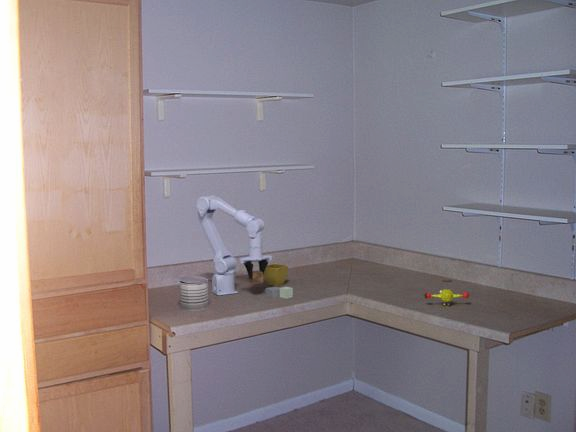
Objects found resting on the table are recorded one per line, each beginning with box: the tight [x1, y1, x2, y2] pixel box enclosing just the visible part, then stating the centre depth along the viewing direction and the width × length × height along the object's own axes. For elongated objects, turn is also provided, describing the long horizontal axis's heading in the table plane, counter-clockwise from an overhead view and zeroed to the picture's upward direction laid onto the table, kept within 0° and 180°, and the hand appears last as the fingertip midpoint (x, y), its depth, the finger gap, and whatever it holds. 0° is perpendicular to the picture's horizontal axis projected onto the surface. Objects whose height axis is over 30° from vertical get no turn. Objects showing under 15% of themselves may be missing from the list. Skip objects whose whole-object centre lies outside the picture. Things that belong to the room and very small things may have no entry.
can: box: [179, 275, 209, 312], centre depth 255 cm, size 11×11×12 cm
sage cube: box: [279, 286, 294, 299], centre depth 272 cm, size 4×4×4 cm
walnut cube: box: [248, 270, 264, 285], centre depth 273 cm, size 4×4×4 cm
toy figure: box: [424, 288, 470, 307], centre depth 255 cm, size 18×6×7 cm, turn 90°
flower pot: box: [263, 263, 289, 287], centre depth 294 cm, size 9×9×9 cm
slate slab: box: [264, 286, 281, 298], centre depth 276 cm, size 6×6×3 cm
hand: (255, 278), depth 273 cm, fingers closed on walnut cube, 4 cm apart
